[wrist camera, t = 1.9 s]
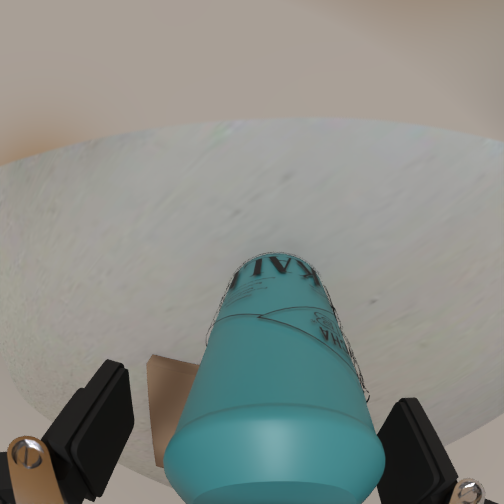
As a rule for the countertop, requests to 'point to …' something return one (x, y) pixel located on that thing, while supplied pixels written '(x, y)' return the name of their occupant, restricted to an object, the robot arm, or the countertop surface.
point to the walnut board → (167, 398)
